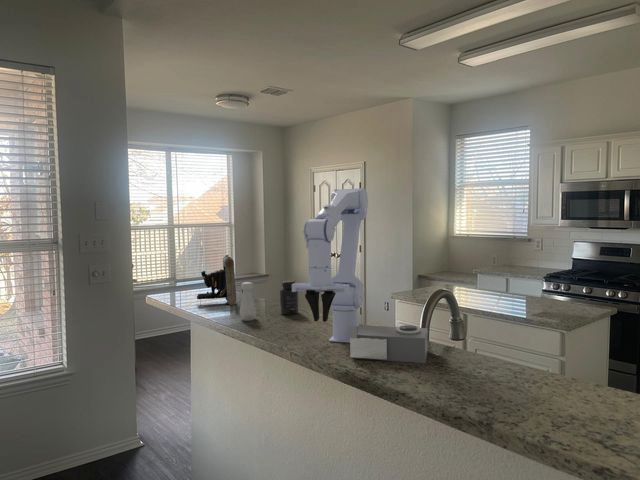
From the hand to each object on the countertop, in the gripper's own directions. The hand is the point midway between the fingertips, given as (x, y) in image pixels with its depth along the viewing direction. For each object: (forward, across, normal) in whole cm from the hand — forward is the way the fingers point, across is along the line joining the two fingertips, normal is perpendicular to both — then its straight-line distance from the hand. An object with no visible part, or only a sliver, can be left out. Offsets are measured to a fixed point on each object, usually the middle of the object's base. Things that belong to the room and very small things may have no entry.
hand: (320, 320), depth 116 cm
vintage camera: (+10, -62, +59) cm, 86 cm away
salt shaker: (+10, -37, +36) cm, 53 cm away
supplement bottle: (+10, -26, +48) cm, 55 cm away
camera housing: (+9, +16, +6) cm, 20 cm away
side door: (+9, +12, 0) cm, 15 cm away
